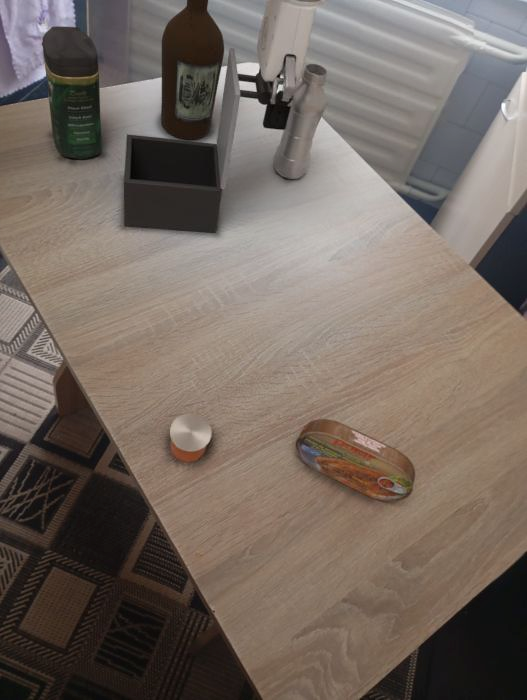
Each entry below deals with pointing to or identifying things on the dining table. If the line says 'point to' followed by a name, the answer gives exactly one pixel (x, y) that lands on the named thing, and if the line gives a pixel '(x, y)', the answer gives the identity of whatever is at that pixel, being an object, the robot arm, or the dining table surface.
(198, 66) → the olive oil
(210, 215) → the dark brown box
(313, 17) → the robot arm
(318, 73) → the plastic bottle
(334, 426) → the tin
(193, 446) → the coffee pod
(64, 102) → the coffee jar
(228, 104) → the box lid
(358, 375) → the dining table surface
